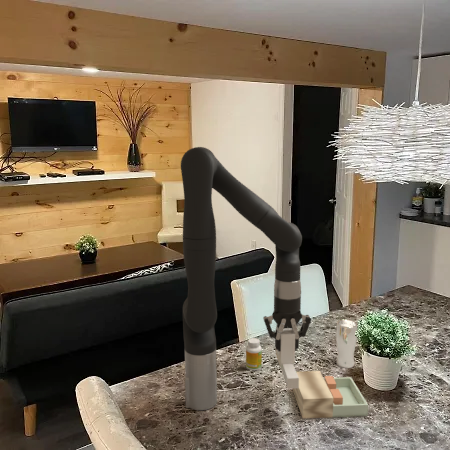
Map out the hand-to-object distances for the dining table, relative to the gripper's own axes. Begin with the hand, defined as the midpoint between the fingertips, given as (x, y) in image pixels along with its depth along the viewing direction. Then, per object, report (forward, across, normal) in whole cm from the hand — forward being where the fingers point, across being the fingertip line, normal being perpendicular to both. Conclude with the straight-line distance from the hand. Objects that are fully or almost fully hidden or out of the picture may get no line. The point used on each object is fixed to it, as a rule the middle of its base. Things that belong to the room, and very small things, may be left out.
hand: (286, 349), depth 132 cm
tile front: (+15, -13, +4) cm, 20 cm away
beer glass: (+18, -25, -22) cm, 38 cm away
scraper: (+6, 0, 0) cm, 6 cm away
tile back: (+15, -13, -4) cm, 20 cm away
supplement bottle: (+17, +7, -22) cm, 29 cm away
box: (+17, -17, 0) cm, 24 cm away
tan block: (+17, -8, 0) cm, 19 cm away
